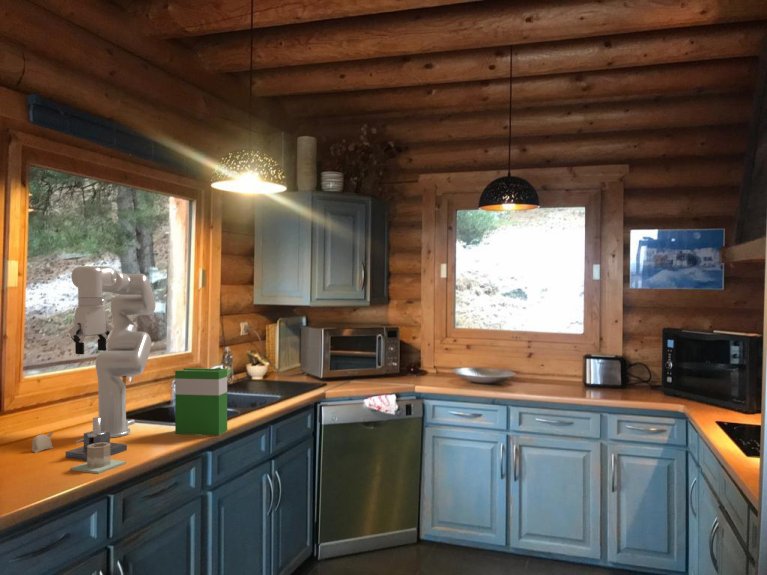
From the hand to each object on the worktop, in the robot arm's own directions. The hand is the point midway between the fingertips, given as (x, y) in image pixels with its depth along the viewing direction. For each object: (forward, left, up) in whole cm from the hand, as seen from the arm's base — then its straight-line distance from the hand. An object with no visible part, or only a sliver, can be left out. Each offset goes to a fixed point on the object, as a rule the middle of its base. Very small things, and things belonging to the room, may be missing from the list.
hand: (91, 352), depth 205 cm
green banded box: (-33, +21, -34) cm, 51 cm away
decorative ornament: (+6, -16, -34) cm, 38 cm away
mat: (+15, +19, -33) cm, 41 cm away
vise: (+4, +7, -33) cm, 34 cm away
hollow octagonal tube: (+15, +19, -33) cm, 41 cm away
